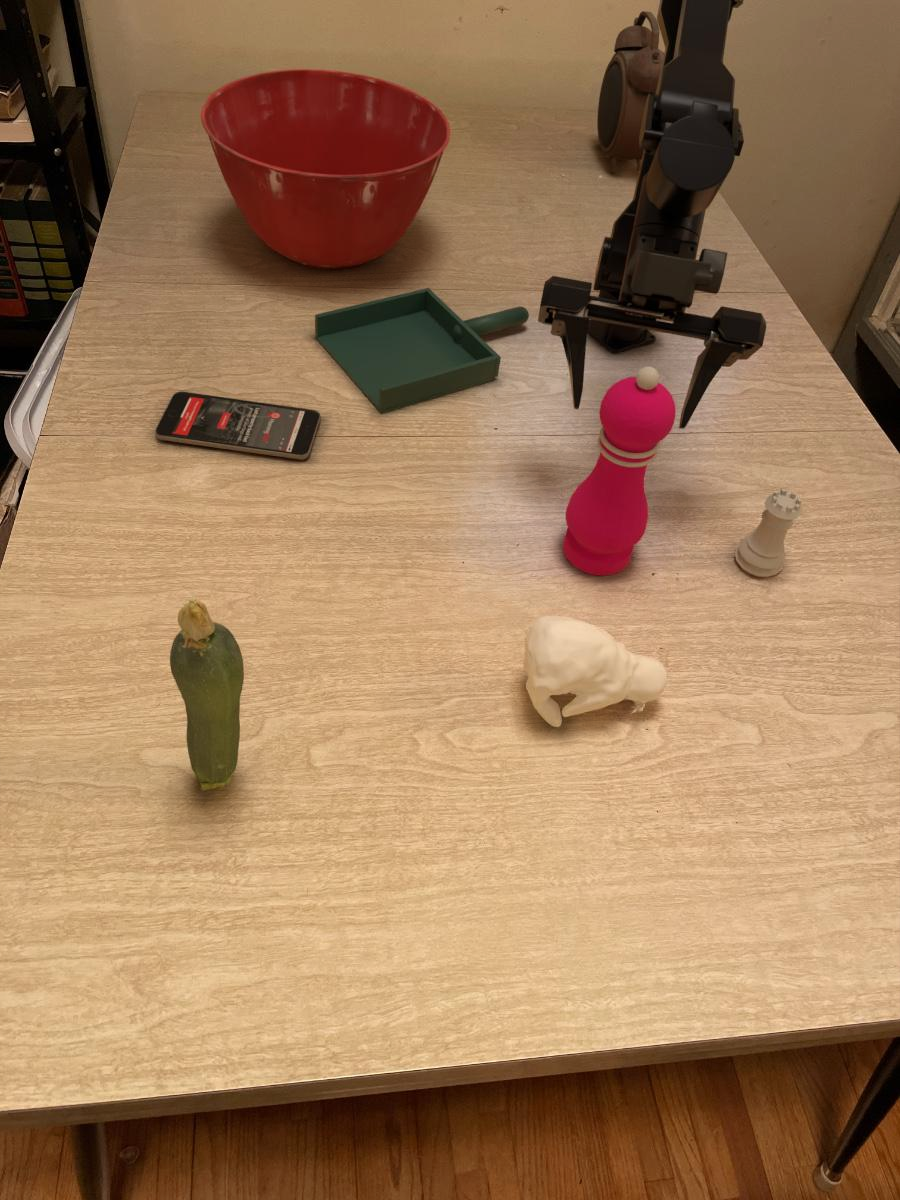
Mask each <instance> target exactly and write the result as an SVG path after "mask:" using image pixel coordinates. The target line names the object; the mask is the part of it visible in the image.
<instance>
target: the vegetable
mask: <svg viewBox="0 0 900 1200" xmlns="http://www.w3.org/2000/svg"><path fill="white" fill-rule="evenodd" d="M188 601H189V602H188V603H184V605H183V606H182V607H181V608H180V609H179V611H178V614H177V624H178V626H179V627H180V629H181V630H180V631H179V632H178V633H177V634H176V635H175V637H174V639H173V641H172V644H171V648H170V654H169V666H170V672H171V674H172V677H173V679H174V681H175V684H176V686H177V688H178V690H179V692H180V695H181V697H182V700H183V702H184V708H185V713H186V737H185V738H186V748H187V754H188V758H189V762H190V767H191V770H192V772H193V774H194V775H195V777H196V779H197V781H199V785H200V790H201V791H209V790H213V789H215V788H223V787H225V786H226V785H230V784H231V780H232V776H233V775H234V773H235V772H236V769H237V765H238V760H239V747H240V738H241V721H240V711H241V710H240V709H241V697H242V693H243V692H242V691H243V686H244V680H245V671H244V670H245V669H244V659H243V656H242V651H241V647H240V645H239V643H238V640H236V638H235V636H234V634H233V633H232V632H231V630H230V629H229V628H227V626H224V625H223V624H221V623H218V622H215V621H213V619H212V618H211V616H210V614H209V611H208V607H207V606H206V604H205V603H203V602H201V601H200V600H199V601H198V600H197V599H196V598H195V599H194V598H189V599H188Z"/></svg>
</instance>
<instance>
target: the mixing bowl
mask: <svg viewBox="0 0 900 1200" xmlns="http://www.w3.org/2000/svg"><path fill="white" fill-rule="evenodd" d="M200 120H201V125H202V128H203V130H204V131H205V133H206V134H207V137H208V139H209V142H210V144H211V148H212V150H213V154H214V157H215V159H216V162H217V165H218V168H219V170H220V172H221V175H222V177H223V180H224V182H225V184H226V186H227V188H228V190H229V192H230V194H231V196H232V198H233V200H234V202H235V204H236V206H237V207H238V209H239V211H240V213H241V214H242V216H243V217H244V219H245V220H246V222H247V223H248V225H249V227H250V228H251V230H252V231H253V233H255V235H256V236H257V237H258V238H259V239H260V240H261V241H262V242H263V243H264V244H265V245H266V246H267V247H269V248H270V249H272V250H273V251H275V252H276V253H278V254H280V255H281V256H283V257H286V258H287V259H289V260H291V261H293V262H294V263H297V264H300V265H303V266H307V267H311V268H317V269H327V270H328V269H329V270H334V269H335V270H336V269H337V270H338V269H346V268H347V269H348V268H353V267H357V266H359V265H363V264H365V263H366V262H369V261H371V260H374V259H376V258H378V257H380V256H382V255H384V254H385V253H386V252H388V251H389V250H391V249H392V248H393V247H394V246H395V245H396V244H397V243H398V242H399V241H400V240H401V238H402V237H403V236H404V235H405V233H406V231H407V230H408V229H409V227H410V225H411V224H412V222H413V221H414V219H415V217H416V215H417V214H418V212H419V211H420V209H421V206H422V205H423V203H424V201H425V199H426V197H427V195H428V192H429V190H430V188H431V186H432V184H433V181H434V179H435V176H436V174H437V171H438V168H439V166H440V163H441V160H442V156H443V154H444V151H445V149H446V148H447V147H448V146H449V142H450V140H451V126H450V123H449V121H448V118H447V116H446V115H445V114H444V113H443V111H442V110H441V109H440V108H439V107H438V106H436V105H435V104H434V103H433V102H432V101H430V100H429V99H427V98H426V97H425V96H422V95H421V94H420V93H417V92H416V91H415V90H414V91H413V90H411V89H409V88H407V87H405V86H402V85H400V84H397V83H394V82H391V81H389V80H385V79H382V78H378V77H374V76H370V75H365V74H360V73H354V72H349V71H341V70H332V69H331V70H329V69H319V68H318V69H316V68H315V69H313V68H298V69H296V68H295V69H294V68H293V69H281V70H280V69H279V70H272V71H266V72H260V73H256V74H252V75H251V74H250V75H248V76H244V77H241V78H238V79H236V80H233V81H230V82H228V83H226V84H224V85H222V86H221V87H219V88H217V89H216V90H215V91H213V92H212V93H211V94H210V95H209V96H208V97H207V98H206V99H205V101H204V103H203V105H202V108H201V112H200Z"/></svg>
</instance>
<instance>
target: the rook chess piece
mask: <svg viewBox="0 0 900 1200" xmlns="http://www.w3.org/2000/svg"><path fill="white" fill-rule="evenodd" d="M797 495H798V494H797V493H796V492H794V491H793V490H792V491H791V493H790V494H788V489H786V488H785V489H784V488H781V489H780V491H779V490H775V491H774V492H773V493H772V494H771V495H769V496H768V497H766V498H765V501H764V505H765V510H763V511H762V514H761V518H762V519H761V521H760V523H759V524H758V525H757V527H756V528H755V530H754V531H751V532H750V533H749V534H747V535H746V536H744V538H742V539H741V540H740V541H739V545H738V546H737V547H736V548H735V552H734V556H735V560H736V562H737V564H738V565H739V567H740V568H741V570H742V571H744V572H746V573H747V574H749V575H751V576H755V577H758V578H768V577H772V576H775V575H777V574H778V573H779V572H780V571H782V568H783V564H784V563H785V559H786V551H785V547H786V546H785V545H784V543H785V539H786V535H787V532H788V531H789V530H790V529H791V528H793V525H794V520H796V519H798V518H799V517H801V516H802V513H803V509H802V507H801V506H802V505H801V504H802V502H803V501H802V498H801V497H797ZM796 497H797V498H796Z"/></svg>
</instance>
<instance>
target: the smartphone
mask: <svg viewBox="0 0 900 1200" xmlns="http://www.w3.org/2000/svg"><path fill="white" fill-rule="evenodd" d="M321 417H322V416H321V413H320V412H319V411H318V410H316V409H309V408H302V407H296V406H287V405H283V404H274V403H267V402H266V403H265V402H260V401H252V400H245V399H240V398H239V399H237V398H232V397H231V398H230V397H224V396H217V395H211V394H210V395H209V394H203V393H196V392H190V391H189V392H188V391H177V392H175V393H174V394H173V395H172V397H171V399H170V400H169V403H168V404H167V406H166V408H165V411H164V412H163V414H162V416H161V418H160V421H159V422H158V424H157V426H156V428H155V431H154V433H155V437H156V438H157V439H158V440H159V441H160V440H161V441H164V442H165V441H167V442H173V443H179V444H188V445H194V446H201V447H207V448H216V449H222V450H228V451H229V450H230V451H236V452H244V453H252V454H258V455H265V456H273V457H279V458H287V459H292V460H293V459H294V460H300V461H302V460H306V459H307V458H308V457H309V456H310V454H311V451H312V449H313V444H314V441H315V438H316V436H317V431H318V429H319V425H320V423H321Z"/></svg>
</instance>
